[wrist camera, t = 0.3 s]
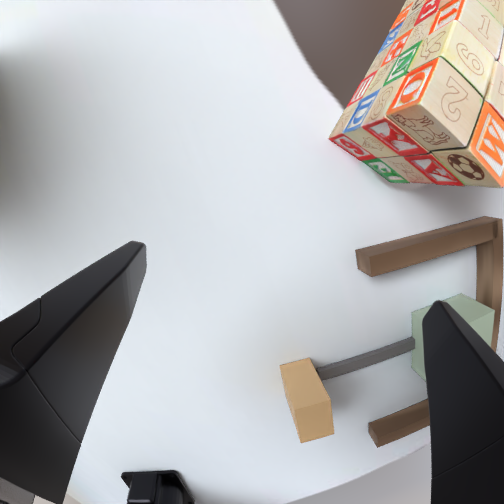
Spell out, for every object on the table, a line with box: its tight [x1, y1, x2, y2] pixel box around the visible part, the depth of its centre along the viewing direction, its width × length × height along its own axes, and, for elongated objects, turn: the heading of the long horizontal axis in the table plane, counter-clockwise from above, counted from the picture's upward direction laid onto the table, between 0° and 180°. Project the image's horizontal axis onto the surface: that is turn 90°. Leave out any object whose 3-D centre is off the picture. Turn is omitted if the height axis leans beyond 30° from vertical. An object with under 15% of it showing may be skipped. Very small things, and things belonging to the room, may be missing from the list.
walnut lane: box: [355, 216, 503, 448], centre depth 25 cm, size 20×14×2 cm
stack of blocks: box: [329, 0, 504, 188], centre depth 16 cm, size 21×6×12 cm, turn 150°
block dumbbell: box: [280, 294, 495, 443], centre depth 23 cm, size 6×18×6 cm, turn 102°
